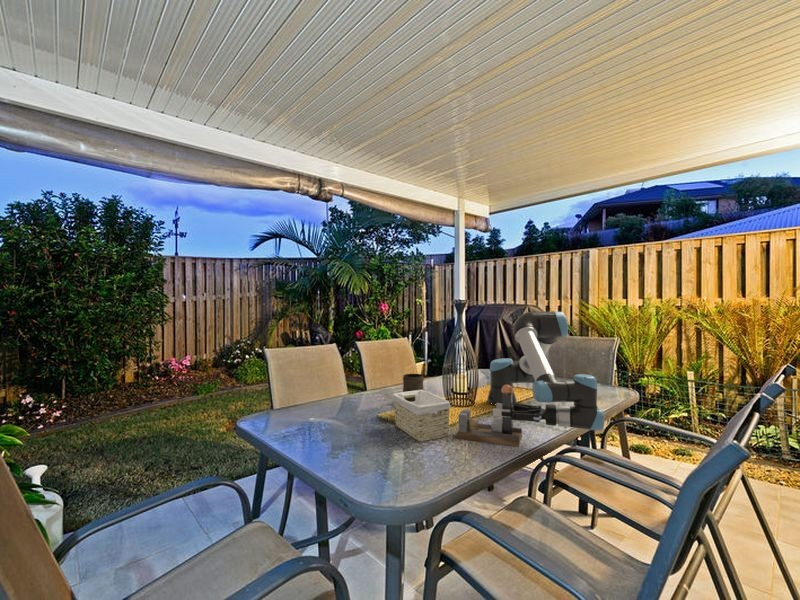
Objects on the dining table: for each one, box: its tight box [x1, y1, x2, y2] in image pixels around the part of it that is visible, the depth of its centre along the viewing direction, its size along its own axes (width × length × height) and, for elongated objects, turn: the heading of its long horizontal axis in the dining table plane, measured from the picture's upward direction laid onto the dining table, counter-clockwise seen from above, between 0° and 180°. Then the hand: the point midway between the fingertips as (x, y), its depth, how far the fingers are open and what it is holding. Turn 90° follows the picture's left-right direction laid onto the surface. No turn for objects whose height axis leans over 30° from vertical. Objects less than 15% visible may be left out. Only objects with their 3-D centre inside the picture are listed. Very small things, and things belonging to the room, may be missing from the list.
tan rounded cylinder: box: [468, 418, 479, 432], centre depth 152 cm, size 4×4×4 cm
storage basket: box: [392, 389, 452, 442], centre depth 158 cm, size 24×16×15 cm
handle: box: [490, 385, 514, 435], centre depth 147 cm, size 7×8×19 cm
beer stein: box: [402, 373, 425, 402], centre depth 181 cm, size 15×11×20 cm
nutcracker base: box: [455, 408, 523, 447], centre depth 149 cm, size 12×24×9 cm, turn 66°
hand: (495, 409), depth 149 cm, fingers open, 7 cm apart
